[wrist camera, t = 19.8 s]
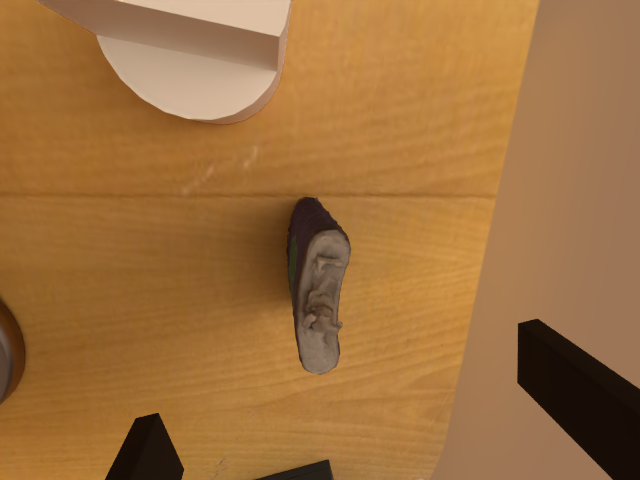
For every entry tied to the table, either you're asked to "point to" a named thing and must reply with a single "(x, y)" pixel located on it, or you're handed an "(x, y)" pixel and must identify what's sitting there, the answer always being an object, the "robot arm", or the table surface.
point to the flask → (316, 282)
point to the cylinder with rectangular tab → (191, 51)
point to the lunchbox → (305, 473)
